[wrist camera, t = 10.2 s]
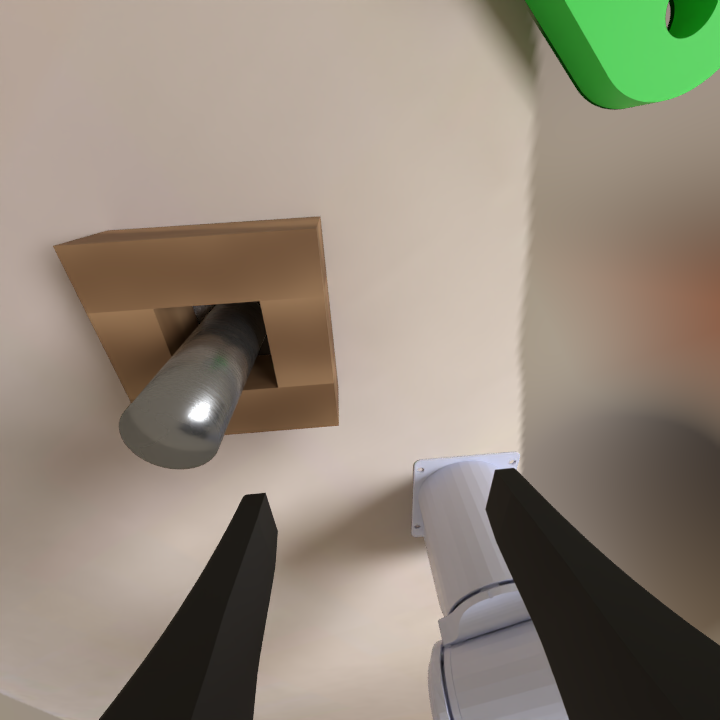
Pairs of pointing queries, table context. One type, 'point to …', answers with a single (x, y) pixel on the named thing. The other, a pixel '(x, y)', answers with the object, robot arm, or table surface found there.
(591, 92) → the mechanical part
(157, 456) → the metal peg
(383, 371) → the table surface
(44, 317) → the table surface
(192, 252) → the square wooden ring
